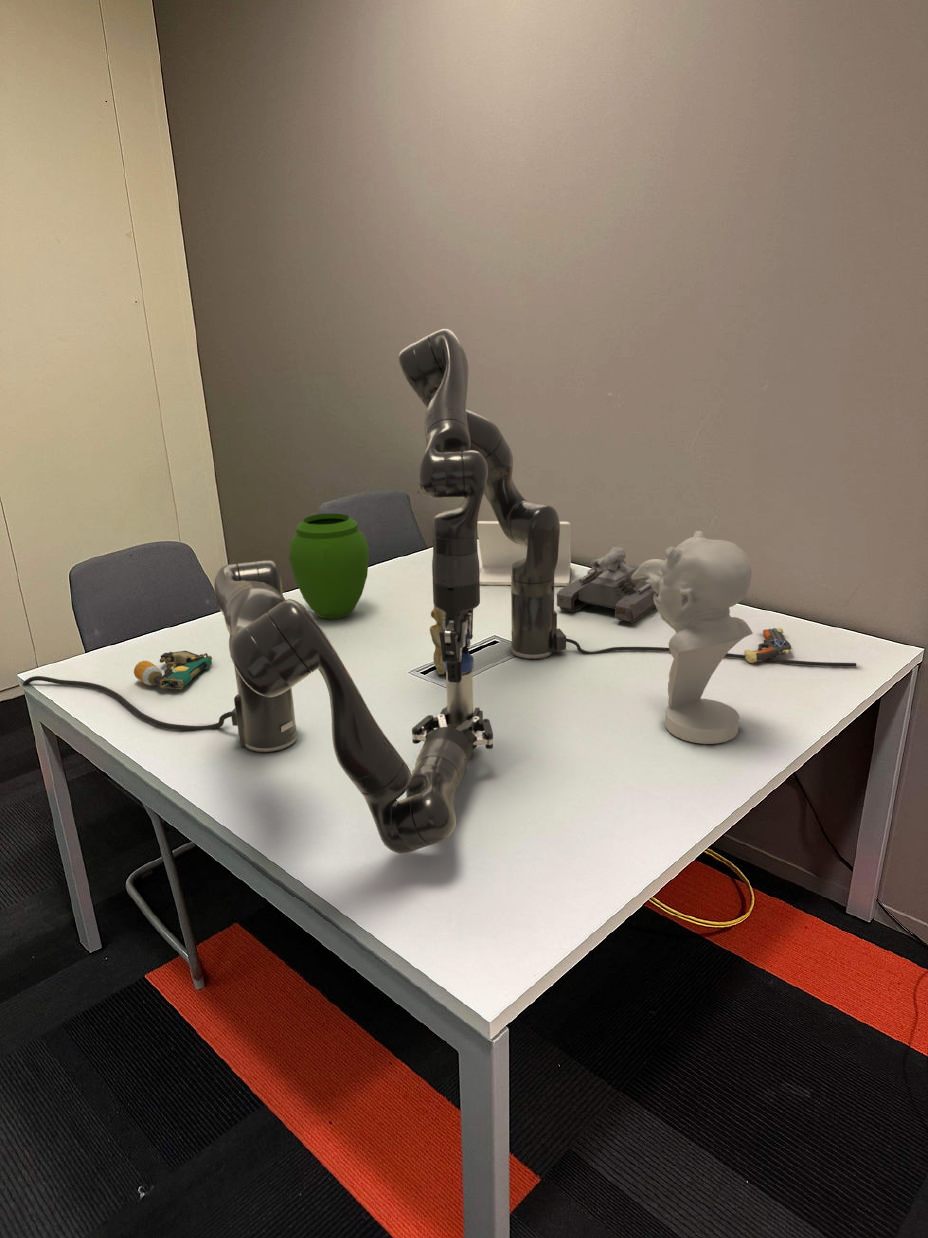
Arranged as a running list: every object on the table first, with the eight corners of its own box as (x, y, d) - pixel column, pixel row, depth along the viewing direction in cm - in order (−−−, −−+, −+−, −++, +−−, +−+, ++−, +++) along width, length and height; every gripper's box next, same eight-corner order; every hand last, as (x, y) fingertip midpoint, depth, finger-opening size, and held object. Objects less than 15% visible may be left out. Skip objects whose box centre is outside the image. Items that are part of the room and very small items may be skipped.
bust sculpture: (671, 682, 170) (682, 511, 158) (763, 732, 151) (784, 540, 138) (606, 701, 164) (613, 523, 151) (694, 755, 144) (709, 555, 131)
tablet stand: (569, 585, 229) (570, 524, 223) (476, 584, 232) (475, 523, 226) (570, 566, 246) (571, 508, 240) (484, 564, 249) (483, 507, 243)
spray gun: (177, 659, 191) (231, 671, 185) (120, 684, 176) (176, 698, 171) (176, 641, 190) (230, 653, 184) (118, 665, 175) (174, 678, 169)
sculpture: (458, 662, 183) (456, 596, 178) (460, 676, 176) (457, 608, 171) (431, 663, 183) (428, 597, 177) (431, 677, 176) (428, 609, 171)
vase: (389, 608, 216) (383, 514, 208) (339, 633, 201) (330, 533, 192) (330, 596, 226) (322, 506, 218) (278, 619, 211) (267, 523, 202)
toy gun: (746, 653, 177) (797, 650, 175) (736, 627, 195) (782, 623, 193) (747, 666, 178) (798, 663, 176) (736, 638, 195) (782, 635, 193)
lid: (439, 664, 142) (439, 656, 142) (466, 659, 144) (465, 650, 144) (451, 675, 138) (451, 666, 138) (478, 669, 140) (478, 660, 140)
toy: (603, 584, 229) (605, 530, 224) (673, 597, 218) (677, 540, 213) (555, 612, 210) (556, 553, 205) (630, 627, 199) (633, 566, 194)
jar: (445, 757, 146) (441, 666, 140) (454, 745, 150) (451, 656, 144) (468, 761, 144) (466, 669, 138) (477, 749, 148) (475, 659, 142)
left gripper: (487, 742, 129) (504, 694, 145) (396, 736, 132) (422, 689, 147) (488, 786, 132) (504, 733, 147) (399, 778, 134) (424, 728, 150)
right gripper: (444, 563, 143) (447, 656, 149) (421, 590, 130) (425, 691, 136) (488, 565, 142) (489, 659, 148) (469, 592, 128) (471, 695, 134)
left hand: (463, 711), depth 147 cm, fingers closed on jar, 4 cm apart
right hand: (458, 674), depth 142 cm, fingers closed on lid, 4 cm apart
